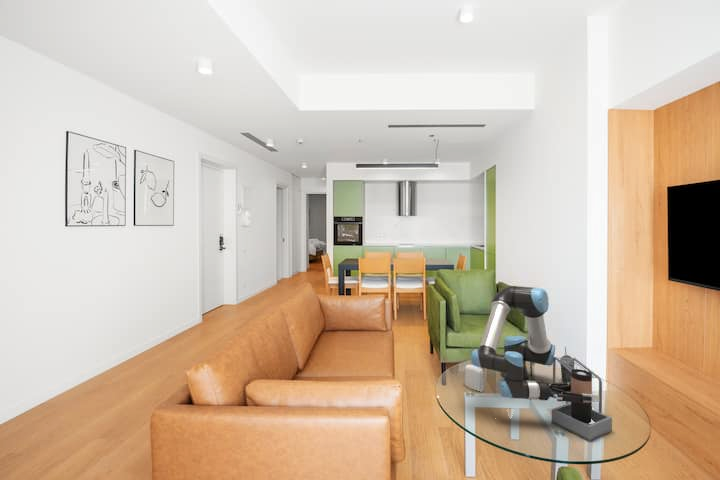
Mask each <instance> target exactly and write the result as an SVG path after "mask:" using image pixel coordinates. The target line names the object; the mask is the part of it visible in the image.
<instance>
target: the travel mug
mask: <svg viewBox="0 0 720 480" xmlns="http://www.w3.org/2000/svg"><path fill="white" fill-rule="evenodd" d="M585 370H586V369H585ZM585 370H584V369H581V370H580V369H578V368H577V369H576V368H574V369H573V370H572V371H571V393H575V394H580V395H582V394H593V378H592V376H593V374H591V373H590V372H589V371H587V370H586V371H585ZM570 403H571V417H572V418H574V419H576V420H579V421H581V422H583V423H590V422H591V410H592V407H593V404H592V403H593V402H591V401H584V403H583V404H582V403H574V402H570Z"/></svg>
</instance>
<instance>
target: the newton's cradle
mask: <svg viewBox="0 0 720 480" xmlns="http://www.w3.org/2000/svg"><path fill="white" fill-rule="evenodd" d="M572 358H573V359H571V358H561V357H557V356H554V358H553V364H552V383H556V361H557V362H558V363H559V365H560V364H561V365H563V366H564V367H565V368H566V369H567V370H568V373H569V372H570V373H571V371H572V370H573V369H578V368H580V370H585V371H588V372H590V373H591V374H592V379H598V395H599V402H598V412H600V413H602V411H603V409H602V408H603V406H602V405H603V404H602V403H603V380H602V378H601V377H600V376H599V375H598V374H596V373H595V372H594V371H593V370H591V369H590V368H589V367H587V365H585V364H583V363H582V362H581V361H579V359H577V358H576V357H572ZM562 359H571V360H572V368H571V367H570V366H569V365H567V364H566V363H565V361H563V360H562ZM560 360H562V361H563V362H564V363H565V364H566V365H567V366H566V365H565V364H564V363H563V362H561V361H560ZM574 363H575V364H574ZM561 365H560V366H561ZM568 366H569V367H570V369H569V368H568ZM575 366H577V367H575ZM566 369H565V371H566ZM571 369H572V370H571ZM566 376H567V374H566ZM569 378H570V376H569ZM570 380H571V378H570ZM567 381H568V379H567ZM569 383H571V382H569ZM569 383H568V385H569ZM570 393H571V391H570ZM569 403H570V402H565V404H569ZM602 414H603V413H602Z"/></svg>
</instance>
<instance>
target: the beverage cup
mask: <svg viewBox="0 0 720 480" xmlns="http://www.w3.org/2000/svg"><path fill="white" fill-rule="evenodd" d="M564 354H565V355H563V356H561V357H560V358H571V359H573V358H574V357H572V356H570V355H567V347H566V346H564ZM571 359H562V360H563V361H565V363H566V364H567V365H569V366H570V367H571V368H572V360H571ZM559 360H560V359H559ZM562 360H560V361H561V362H563V361H562ZM563 363H564V362H563ZM565 363H564V364H565ZM566 364H565V365H566ZM574 364H575V365H576V363H575V362H574ZM559 365H560V373H561V381H562V382H563V383H569V382H571V380H570V378H571V373H570V372H569V373H568V370H567V369H566V368H565V367H564V366H563V365H561V364H560V363H559ZM567 365H566V366H567ZM569 366H568V368H569V369H570V367H569ZM565 369H566V371H565ZM571 370H572V369H571ZM566 374H567V376H566ZM569 376H570V378H569ZM567 379H568V381H567ZM562 382H561V383H562Z"/></svg>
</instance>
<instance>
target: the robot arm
mask: <svg viewBox="0 0 720 480" xmlns="http://www.w3.org/2000/svg"><path fill="white" fill-rule="evenodd" d="M490 308H491V311H490V314H489V317H488V319H487V322H486V324H485V325H486V326H485V329H484V332H483V336H482V338H481V342H480V344H479V347H478V349H473V350H472V351H471V355H470V362H471V365H474V366H477V367H480V368H481V369H486V370H491V371H496V372H497V373H498V372H499V373H500V376H501V377H503V378H500V379H499V380H498V392H499V394H500V396H501V397H503V398H506V399H507V398H509V399H522V400H523V399H524V400H525V399H526V400H529V401H532V400H538V401H549V399H550V398H553V399H556V400H557V402H565V401H566V402H569V403H571V402H574V403H582V404H583V403H584V401H591V402H592V403H593V402H595V403H599V394H593V393H592V394H582V395H580V394H575V393H570V391H571V383H569V385H568V383H562V382H555V383H553V382H545V381H541V380H540V381H539V380H537V381H535V380H530V378H529V377H530V374H529V371H528V368H527V364H526V362H529V363H533V364H539V365H543V366H549V367H551V366H553V358H554V357H555V354H556V352H555V351H556V345H554V344H552V343H551V341H550V339H548V337H547V331H546V325H545V318H544V315H545V313H546V312H548V311H549V296H548V293H547V291H546V289H544V288H540V287H531V286H520V285H519V286H518V285H517V286H516V285H508V286H506V287H504V288H502V289H500V290H499V291H498V292H497V293H496V294H495V295H494V296H493V299H492V300H491V303H490ZM511 309H516V310H520V313H521V314H522V315H523V316H524V317H525V323H526V327H527V332H528V339H529V340H527V338H526V337H525V336H523V335H508V336H506V337H504V341H503V342H504V344H503V354H502V353H501V354H499V353H497V350H498V347H499V343H500V341H501V340H500V339H501V336H502V333H503V329H504V326H505V322H506V319H507V315H508V314H509V313H510V312H511ZM566 402H565V403H566Z"/></svg>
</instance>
